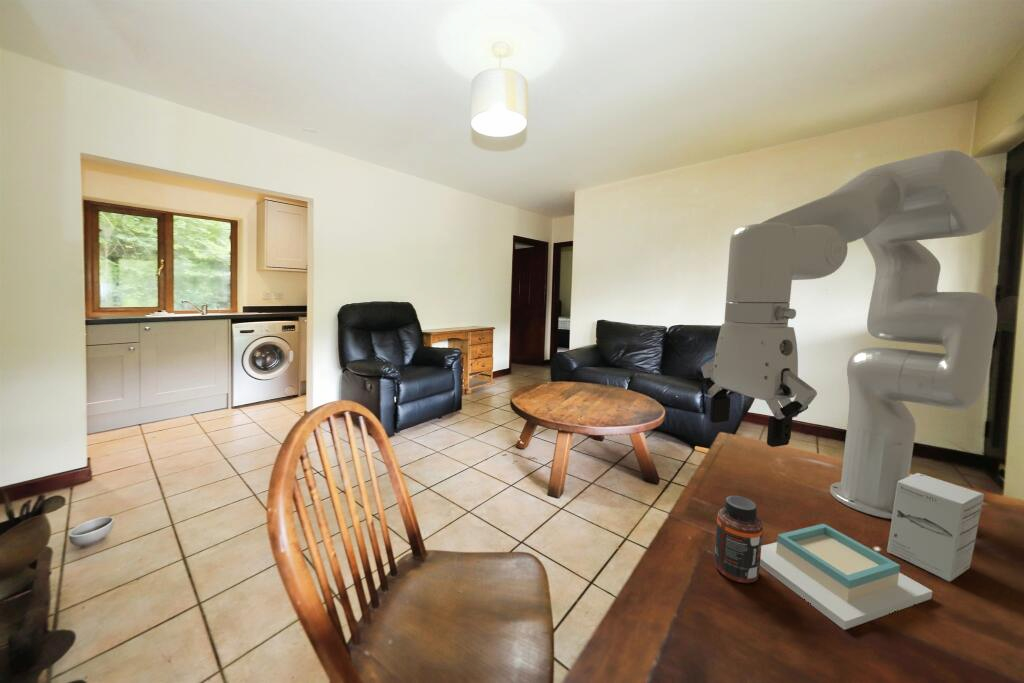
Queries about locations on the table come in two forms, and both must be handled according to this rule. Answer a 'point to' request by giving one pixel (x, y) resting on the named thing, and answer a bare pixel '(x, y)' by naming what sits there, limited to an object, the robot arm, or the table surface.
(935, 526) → the supplement box
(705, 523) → the table surface
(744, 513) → the supplement bottle
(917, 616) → the table surface
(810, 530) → the teal framed tray
